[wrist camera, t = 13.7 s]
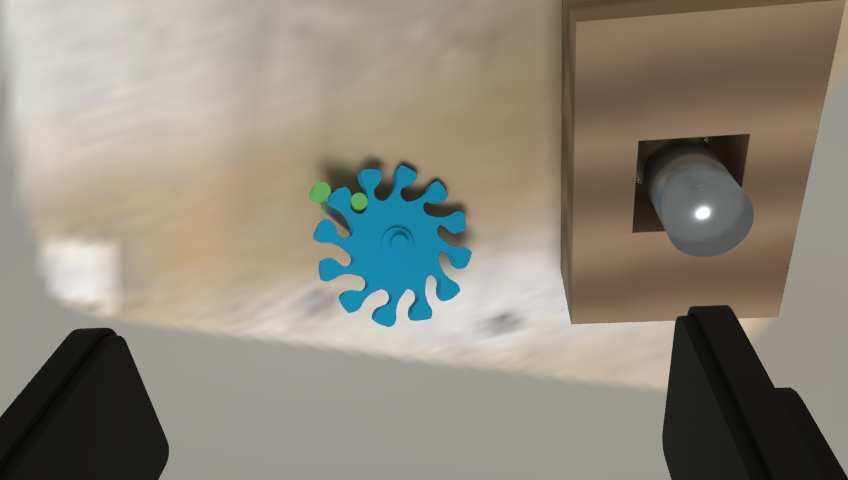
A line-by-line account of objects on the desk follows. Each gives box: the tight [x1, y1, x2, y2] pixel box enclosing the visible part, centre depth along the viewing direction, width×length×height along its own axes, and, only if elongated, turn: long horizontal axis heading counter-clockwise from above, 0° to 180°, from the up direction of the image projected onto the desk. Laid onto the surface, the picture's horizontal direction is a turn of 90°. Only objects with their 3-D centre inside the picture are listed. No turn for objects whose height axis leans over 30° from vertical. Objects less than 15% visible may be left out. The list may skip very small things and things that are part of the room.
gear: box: [310, 166, 472, 327], centre depth 43 cm, size 11×6×10 cm
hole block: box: [561, 0, 846, 324], centre depth 38 cm, size 18×12×6 cm, turn 6°
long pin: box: [636, 137, 754, 257], centre depth 36 cm, size 4×4×10 cm
